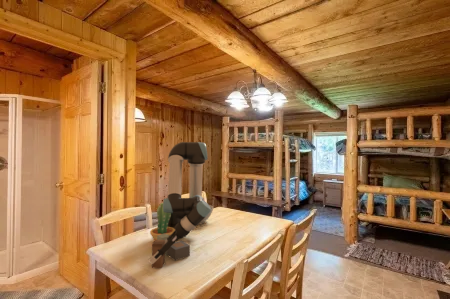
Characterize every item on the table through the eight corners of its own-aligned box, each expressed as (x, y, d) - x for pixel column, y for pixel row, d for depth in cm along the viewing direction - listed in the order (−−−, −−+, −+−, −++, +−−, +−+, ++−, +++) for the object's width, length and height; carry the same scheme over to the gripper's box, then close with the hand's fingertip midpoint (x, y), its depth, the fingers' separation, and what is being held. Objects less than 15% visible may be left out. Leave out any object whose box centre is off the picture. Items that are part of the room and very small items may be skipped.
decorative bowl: (176, 219, 196) (176, 205, 196) (206, 216, 207) (206, 202, 207) (184, 229, 172) (184, 213, 172) (218, 225, 183) (218, 209, 183)
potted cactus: (179, 240, 152) (180, 201, 152) (167, 249, 137) (168, 207, 137) (158, 237, 156) (158, 200, 156) (144, 246, 141) (145, 205, 141)
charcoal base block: (167, 255, 130) (167, 244, 130) (181, 250, 136) (181, 240, 136) (175, 261, 124) (175, 249, 124) (189, 256, 130) (189, 245, 130)
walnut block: (155, 263, 121) (155, 239, 121) (164, 263, 121) (164, 240, 121) (151, 267, 116) (152, 243, 116) (161, 268, 116) (162, 243, 116)
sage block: (156, 253, 132) (157, 235, 132) (164, 250, 136) (164, 233, 136) (162, 256, 129) (162, 237, 129) (169, 253, 133) (169, 235, 133)
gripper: (186, 241, 106) (152, 273, 106) (194, 223, 130) (167, 250, 131) (174, 229, 106) (141, 261, 106) (184, 214, 131) (157, 240, 131)
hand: (155, 255), depth 118 cm, fingers open, 13 cm apart
